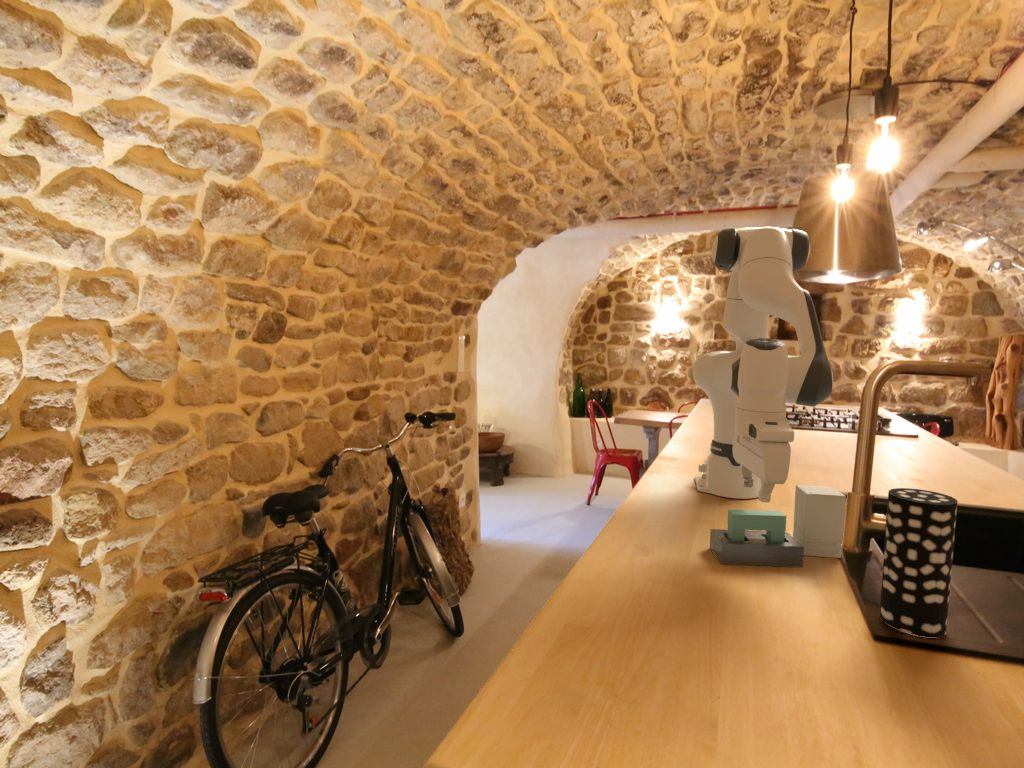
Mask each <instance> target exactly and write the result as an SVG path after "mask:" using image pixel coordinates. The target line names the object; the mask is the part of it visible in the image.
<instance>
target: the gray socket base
mask: <svg viewBox="0 0 1024 768" xmlns="http://www.w3.org/2000/svg"><path fill="white" fill-rule="evenodd" d="M709 531H710V532H709V533H710V534H709V535H710V536H709V549H710V548H711V549H710V551H711V550H712V551H713V552H712V551H711V552H712V554H715V555H716V556H715V555H714V556H715V558H716V559H717V558H718V559H719V560H718V559H717V560H718V562H719V561H720V562H721V563H720V562H719V563H720V565H728V564H734V566H735V564H736V566H755V567H756V566H761V567H780V568H781V567H783V568H803V567H804V556H805V555H804V546H803V545H801V544H800V543H799V542H798V541H797V540H796V539H794V538H793V535H791V534H790V533H789V532H787V531H785V539H784V542H768V541H767V540H766V531H765V530H745V540H744V541H733V540H728V539H727V532H728V529H719V528H718V529H717V528H716V529H715V528H711V529H710V530H709Z"/></svg>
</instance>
